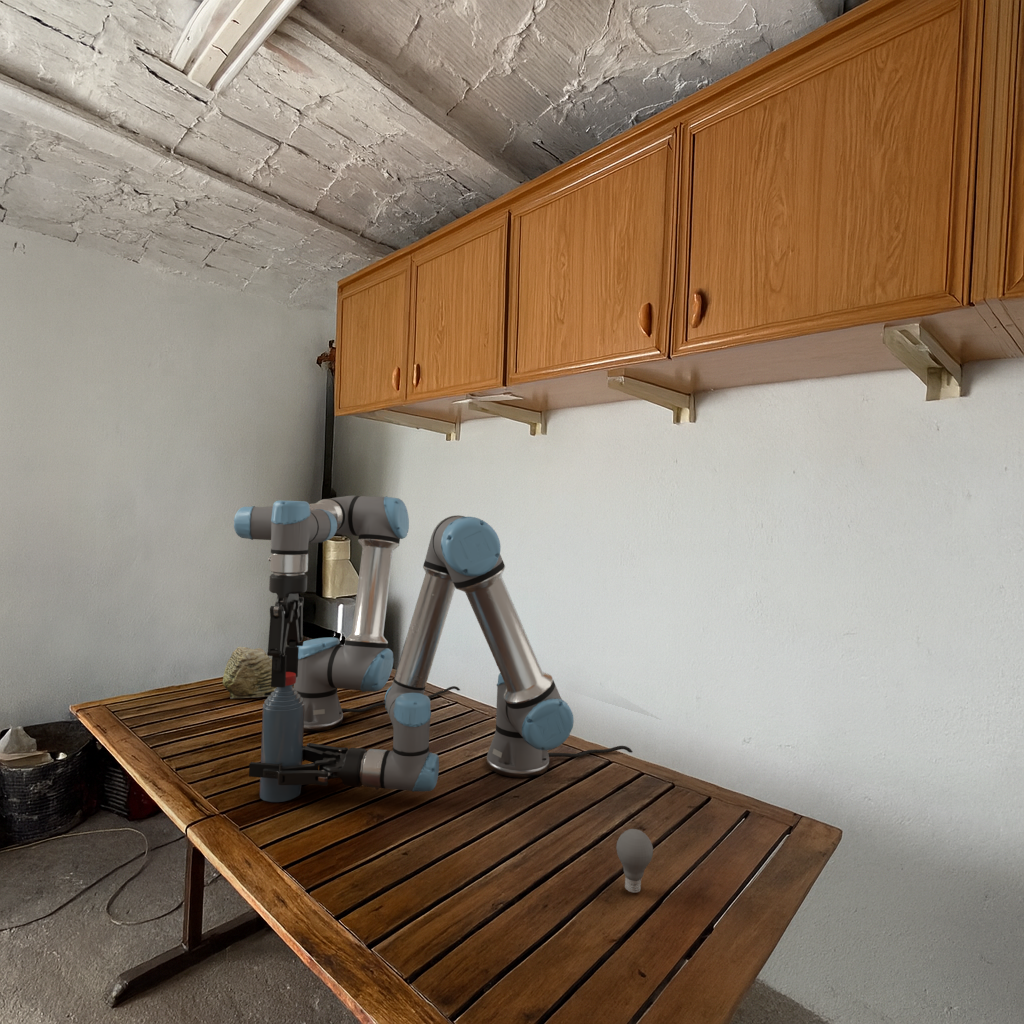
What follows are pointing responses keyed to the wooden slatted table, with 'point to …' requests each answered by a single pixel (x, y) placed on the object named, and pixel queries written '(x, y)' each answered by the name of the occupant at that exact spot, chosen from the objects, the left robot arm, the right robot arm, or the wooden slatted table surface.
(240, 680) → the fossil
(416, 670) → the right robot arm
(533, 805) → the wooden slatted table surface
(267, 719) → the bottle
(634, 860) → the light bulb
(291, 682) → the cap
